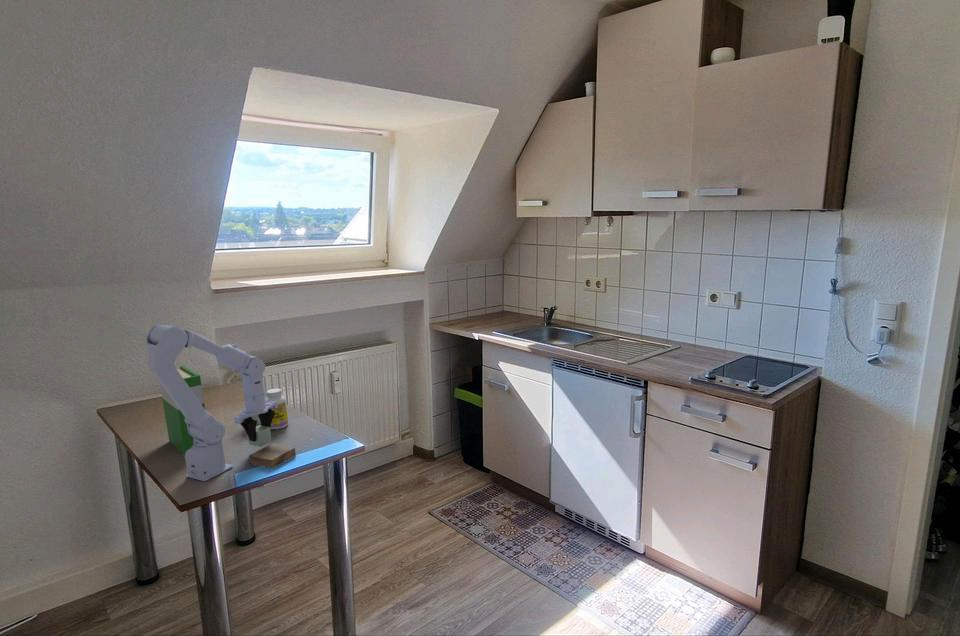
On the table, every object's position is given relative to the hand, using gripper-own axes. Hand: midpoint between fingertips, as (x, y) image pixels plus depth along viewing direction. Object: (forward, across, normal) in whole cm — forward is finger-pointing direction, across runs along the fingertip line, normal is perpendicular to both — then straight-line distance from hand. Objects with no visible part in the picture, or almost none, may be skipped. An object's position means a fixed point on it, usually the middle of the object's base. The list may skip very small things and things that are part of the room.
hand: (259, 437), depth 168 cm
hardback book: (+5, -5, +26) cm, 27 cm away
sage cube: (+2, 0, 0) cm, 2 cm away
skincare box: (+5, +17, +20) cm, 27 cm away
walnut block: (+5, -3, -8) cm, 10 cm away
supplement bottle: (+5, +17, +11) cm, 21 cm away
